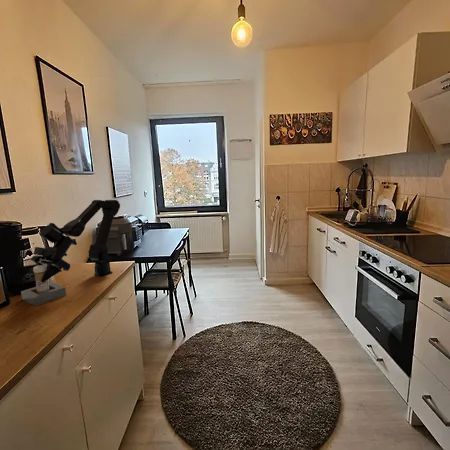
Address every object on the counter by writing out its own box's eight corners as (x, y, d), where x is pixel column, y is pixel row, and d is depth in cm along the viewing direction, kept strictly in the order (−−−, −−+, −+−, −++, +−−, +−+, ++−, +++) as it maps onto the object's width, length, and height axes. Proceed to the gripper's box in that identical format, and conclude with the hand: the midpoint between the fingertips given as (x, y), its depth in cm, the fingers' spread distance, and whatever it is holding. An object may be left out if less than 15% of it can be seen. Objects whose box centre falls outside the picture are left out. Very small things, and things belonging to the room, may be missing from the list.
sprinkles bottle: (36, 300, 116) (31, 268, 114) (39, 295, 121) (35, 265, 118) (49, 298, 118) (44, 267, 115) (52, 294, 122) (47, 264, 119)
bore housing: (53, 289, 127) (51, 282, 127) (66, 295, 120) (65, 287, 120) (22, 299, 118) (20, 291, 117) (34, 306, 111) (33, 297, 110)
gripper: (32, 237, 122) (7, 269, 115) (59, 240, 114) (35, 275, 106) (52, 250, 131) (31, 281, 123) (79, 254, 122) (58, 287, 115)
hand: (38, 281), depth 116 cm, fingers closed on sprinkles bottle, 4 cm apart
